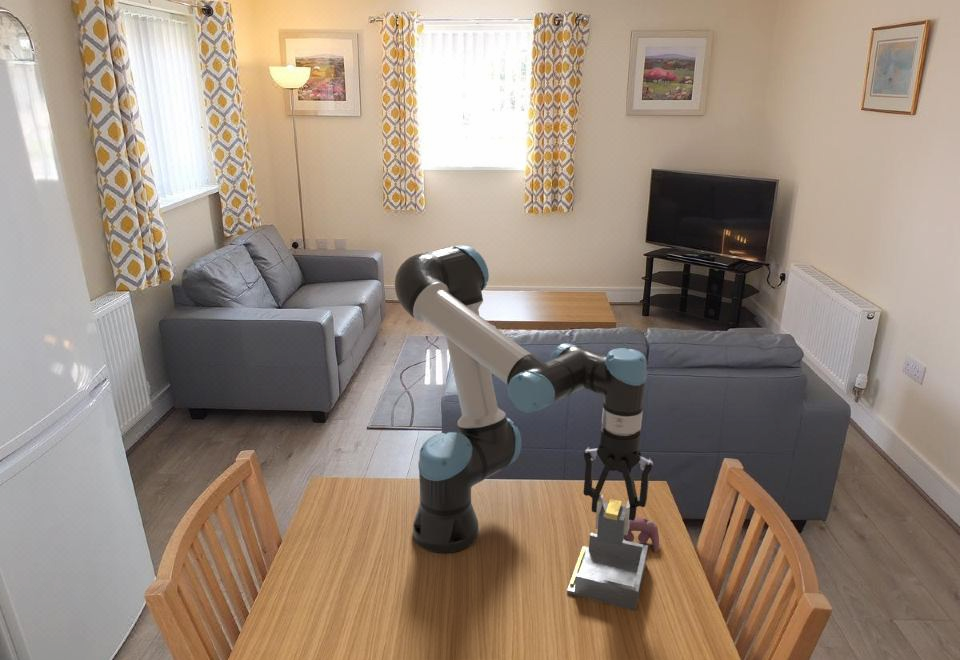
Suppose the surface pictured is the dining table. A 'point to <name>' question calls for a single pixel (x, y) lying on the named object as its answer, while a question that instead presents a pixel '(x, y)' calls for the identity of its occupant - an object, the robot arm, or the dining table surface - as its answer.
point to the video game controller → (643, 531)
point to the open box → (610, 572)
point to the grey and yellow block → (611, 522)
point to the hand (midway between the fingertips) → (612, 527)
